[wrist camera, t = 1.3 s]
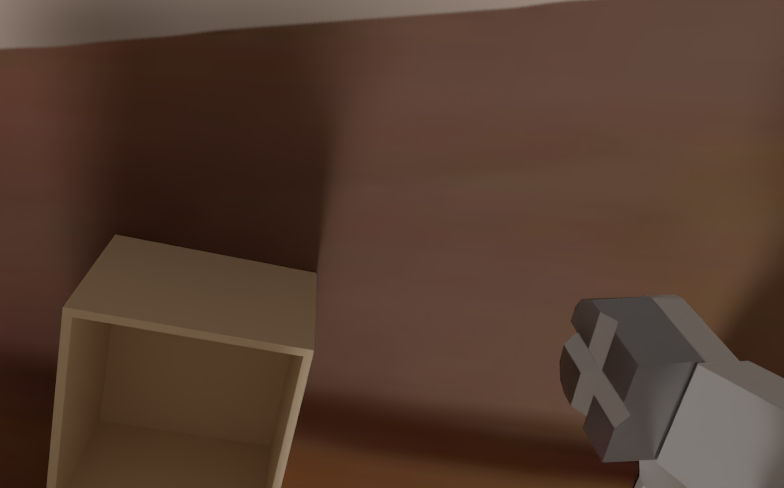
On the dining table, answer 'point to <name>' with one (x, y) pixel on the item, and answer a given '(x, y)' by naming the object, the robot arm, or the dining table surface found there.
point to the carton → (180, 370)
